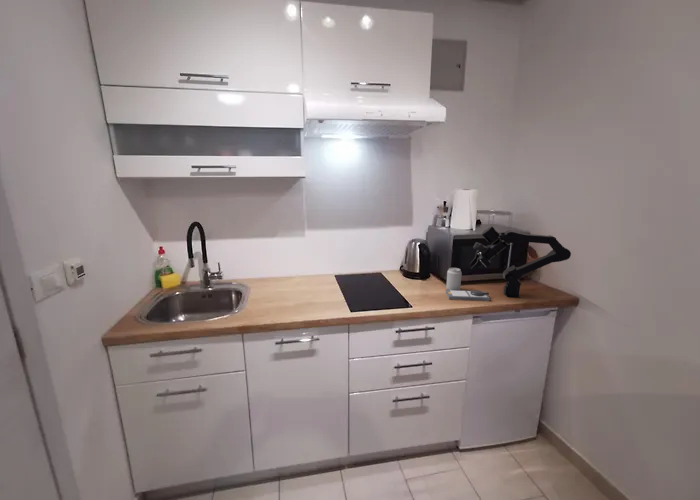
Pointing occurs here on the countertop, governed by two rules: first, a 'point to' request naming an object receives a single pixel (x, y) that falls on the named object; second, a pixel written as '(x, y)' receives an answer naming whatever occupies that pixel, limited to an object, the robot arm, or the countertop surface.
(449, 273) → the can
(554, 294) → the countertop surface
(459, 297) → the grey flat device
